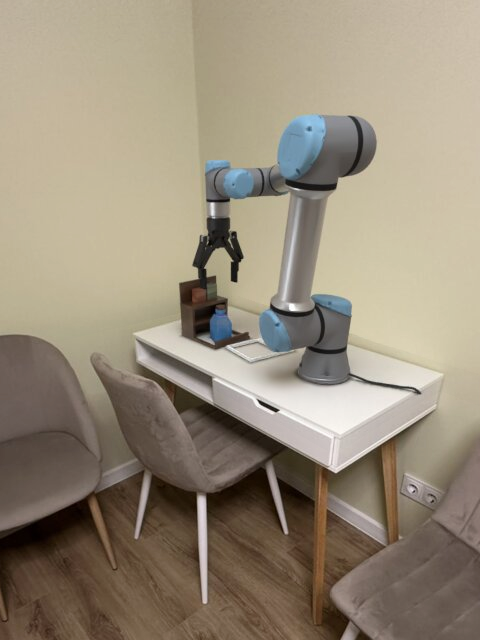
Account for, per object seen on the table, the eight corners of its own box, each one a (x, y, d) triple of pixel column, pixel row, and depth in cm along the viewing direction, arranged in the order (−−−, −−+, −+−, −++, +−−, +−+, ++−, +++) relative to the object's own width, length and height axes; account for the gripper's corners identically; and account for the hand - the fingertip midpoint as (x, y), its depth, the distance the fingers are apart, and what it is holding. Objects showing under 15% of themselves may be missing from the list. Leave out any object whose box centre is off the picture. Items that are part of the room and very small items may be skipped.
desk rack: (249, 338, 169) (250, 284, 159) (215, 349, 160) (214, 293, 150) (215, 325, 181) (214, 275, 172) (181, 335, 172) (178, 282, 163)
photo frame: (295, 347, 157) (250, 358, 149) (294, 350, 158) (250, 362, 150) (269, 335, 168) (226, 345, 160) (269, 338, 168) (226, 348, 161)
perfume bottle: (210, 337, 170) (209, 304, 164) (226, 335, 172) (226, 302, 166) (215, 343, 165) (214, 309, 159) (231, 341, 167) (231, 307, 161)
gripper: (239, 212, 157) (238, 277, 168) (179, 219, 143) (182, 289, 154) (255, 214, 152) (253, 281, 163) (194, 221, 139) (197, 294, 150)
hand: (219, 285), depth 159 cm, fingers open, 13 cm apart
